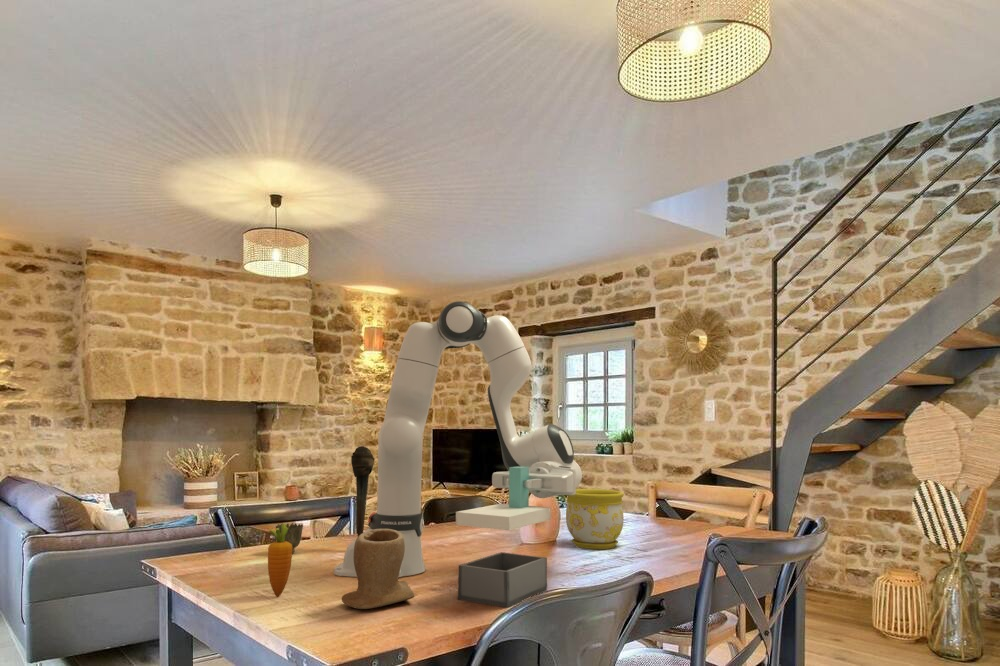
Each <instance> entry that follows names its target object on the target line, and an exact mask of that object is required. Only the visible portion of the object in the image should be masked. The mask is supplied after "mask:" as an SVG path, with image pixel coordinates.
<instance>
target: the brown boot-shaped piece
mask: <svg viewBox="0 0 1000 666" xmlns="http://www.w3.org/2000/svg"><path fill="white" fill-rule="evenodd" d="M356 538H357V539H356ZM356 538H355V539H356V541H355V546H354V557H353V559H354V566H355V571H356V574H357V577H356V579H357V589H356V590H353V591H351V592H346V593H344V594H343V595H342V596H341V598H340V600H341V602H342V603H344V605H346V606H347V607H350V608H354V609H358V610H367V609H368V610H369V609H374V608H380V607H384V606H388V605H389V606H390V605H392V604H397V603H400V602H404V601H408V600H412V599H414V597H415V593H414V591H413V589H412V588H411V586H409V583H408V581H406V580H399V578H400V577H399V572H400V568H401V564H402V561H403V557H404V552H405V543H404V538H403V535H402V534H401V533H400V532H398V531H396V530H392V529H374V530H371V531H369V532H367V533H364V532H363V533H362V534H360V535H359V536H358V535H357V537H356Z"/></svg>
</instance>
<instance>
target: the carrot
mask: <svg viewBox="0 0 1000 666" xmlns="http://www.w3.org/2000/svg"><path fill="white" fill-rule="evenodd" d="M281 524H282V523H281ZM281 524H280V525H281ZM286 525H287V523H283V524H282V525H281V530H282V533H280V530H279V528H276V527H275V530H274V529H273V528H270V529H269V533H271V534H272V535H273V536H274V538H275V540H276V541H274V542H271V543H270V544H269V545H268V548H267V549H268V550H267V551H268V552H267V569H268V570H267V572H268V578H269V579H268V580H269V583H270V587H271V590H272V591H273V594H274V595H275V597H277V598H279V597H280V596H281V595H282V594H283V591H284V590H285V588H286V585H287V583H288V580H289V575H290V572H291V568H292V559H293V558H292V557H293V554H292V544H291V543H289V542H287V541H284V539H285V535H286V533H287V531H288V528H287V527H286ZM276 532H277V533H276Z"/></svg>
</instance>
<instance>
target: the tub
mask: <svg viewBox="0 0 1000 666" xmlns="http://www.w3.org/2000/svg"><path fill="white" fill-rule="evenodd" d="M547 573H548V557H546V556H545V557H544V556H536V555H528V554H519V553H510V552H503V551H502V552H501V551H500V552H498V553H494V554H491V555H488V556H484V557H480V558H478V559H475V560H474V559H473V560H472V561H468V562H464V563H461V564H458V581H457V583H458V588H457V591H458V592H457V600H460V601H465V602H472V603H477V604H483V605H488V606H495V607H499V608H500V607H501V608H505V609H508V608H510V607H512V606H515V605H517V604H519V603H521V602H523V601H525V600H527V599H526V598H528V597H530V596H532V597H534V596H535V594H536V595H538V593H539V594H541V593H543V592H545V591H547V590H548V574H547ZM533 595H534V596H533ZM530 598H531V597H530ZM524 599H525V600H524ZM528 599H529V598H528ZM522 600H523V601H522Z"/></svg>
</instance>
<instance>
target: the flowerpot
mask: <svg viewBox="0 0 1000 666" xmlns="http://www.w3.org/2000/svg"><path fill="white" fill-rule="evenodd" d="M566 496H567V499H566V510H565V523H566V527H567V529H568V532H569V534H570V535H571V537H572V539H571V542H572V543H573V544H574V547H577V548H581V549H587V550H609V549H614V548H615V547H616V545H617V544H618V543H619V541H618V538H619V537H620V535H621V533H622V531H623V527H624V522H625V521H624V510H623V503H624V502H623V501H622V500H623V499H622V498H623V497H624V496H625V495H624V492H623V491H619V490H614V489H603V488H602V489H600V488H597V489H596V488H576V494H575V495H566Z"/></svg>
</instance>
